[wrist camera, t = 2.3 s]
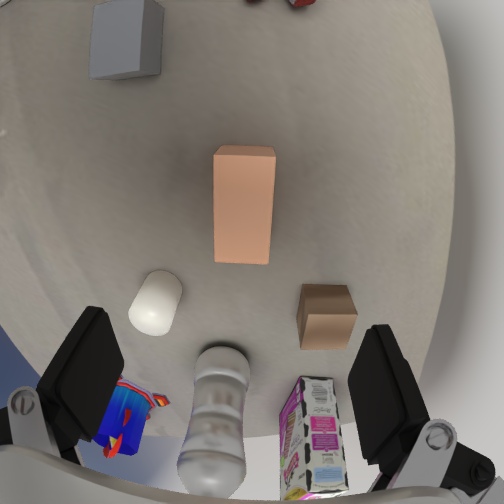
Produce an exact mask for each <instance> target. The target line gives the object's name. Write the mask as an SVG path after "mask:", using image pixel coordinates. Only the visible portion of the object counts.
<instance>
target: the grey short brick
mask: <svg viewBox="0 0 504 504" xmlns="http://www.w3.org/2000/svg"><path fill="white" fill-rule="evenodd" d="M163 18H164V8H163V7H162V6H160V5H159V4H158V3H157V2H155V1H154V0H114V1H110V2H106V3H103V4H99V5H96V6H94V11H93V20H92V30H91V43H90V61H89V79H96V80H121V79H127V78H134V77H141V76H149V75H158V74H161V49H162V32H163Z"/></svg>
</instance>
